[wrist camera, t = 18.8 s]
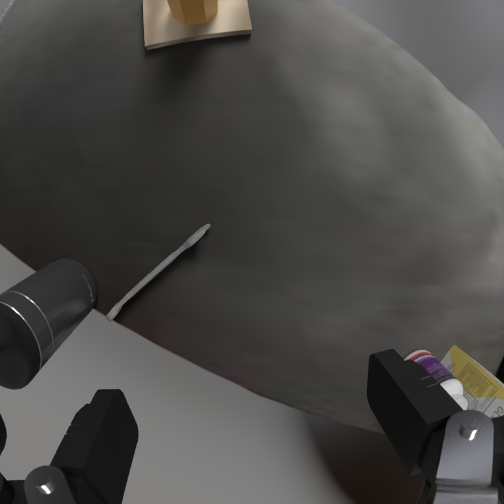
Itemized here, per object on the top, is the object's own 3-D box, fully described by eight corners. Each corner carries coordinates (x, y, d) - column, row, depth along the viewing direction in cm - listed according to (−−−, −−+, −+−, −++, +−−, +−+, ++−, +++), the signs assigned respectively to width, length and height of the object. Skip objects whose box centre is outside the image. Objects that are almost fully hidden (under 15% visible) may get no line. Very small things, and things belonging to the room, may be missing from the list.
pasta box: (488, 370, 53) (562, 438, 26) (460, 407, 54) (524, 482, 27) (453, 344, 49) (547, 428, 22) (420, 387, 51) (497, 484, 24)
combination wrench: (106, 326, 40) (213, 234, 38) (100, 320, 40) (205, 225, 37) (115, 315, 44) (215, 228, 41) (109, 309, 43) (208, 220, 41)
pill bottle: (386, 369, 49) (425, 420, 35) (421, 339, 48) (468, 383, 34) (403, 391, 51) (439, 440, 37) (435, 363, 50) (477, 406, 36)
